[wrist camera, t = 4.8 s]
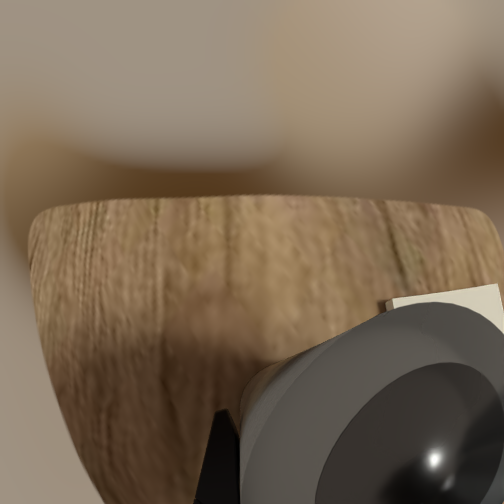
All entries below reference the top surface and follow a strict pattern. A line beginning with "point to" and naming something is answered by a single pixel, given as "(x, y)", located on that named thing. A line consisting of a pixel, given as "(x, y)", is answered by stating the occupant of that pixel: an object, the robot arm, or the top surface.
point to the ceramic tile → (463, 301)
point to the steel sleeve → (381, 415)
